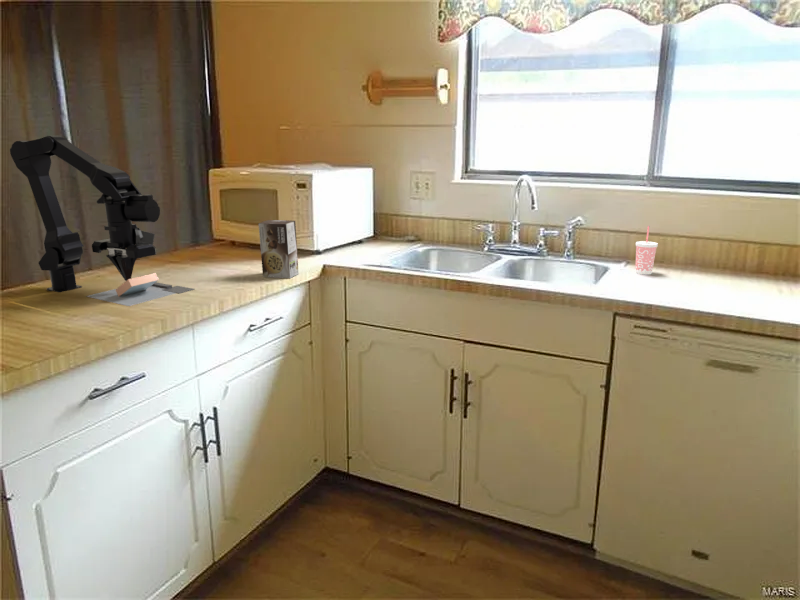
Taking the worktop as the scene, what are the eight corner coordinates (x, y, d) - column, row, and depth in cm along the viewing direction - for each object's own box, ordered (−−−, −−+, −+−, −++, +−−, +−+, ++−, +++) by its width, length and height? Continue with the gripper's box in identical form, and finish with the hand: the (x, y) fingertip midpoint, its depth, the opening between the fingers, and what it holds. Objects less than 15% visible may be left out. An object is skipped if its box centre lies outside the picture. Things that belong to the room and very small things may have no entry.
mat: (85, 297, 153) (85, 296, 152) (140, 284, 166) (140, 282, 166) (129, 307, 144) (129, 306, 143) (183, 292, 157) (182, 291, 157)
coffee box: (299, 273, 177) (296, 220, 173) (290, 278, 171) (286, 223, 167) (271, 272, 179) (268, 219, 175) (261, 277, 173) (257, 222, 169)
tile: (115, 289, 152) (128, 279, 148) (142, 283, 158) (155, 272, 154) (118, 296, 152) (131, 286, 148) (145, 289, 158) (159, 280, 154)
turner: (133, 285, 164) (133, 282, 164) (149, 282, 168) (149, 278, 168) (179, 295, 155) (179, 291, 154) (194, 290, 159) (194, 287, 158)
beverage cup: (628, 271, 177) (632, 225, 173) (642, 269, 180) (647, 223, 176) (644, 275, 172) (649, 228, 168) (659, 273, 175) (664, 226, 171)
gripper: (170, 219, 153) (177, 278, 157) (125, 215, 162) (132, 270, 166) (131, 225, 143) (140, 287, 148) (86, 220, 153) (95, 279, 157)
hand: (128, 280), depth 155 cm, fingers closed
